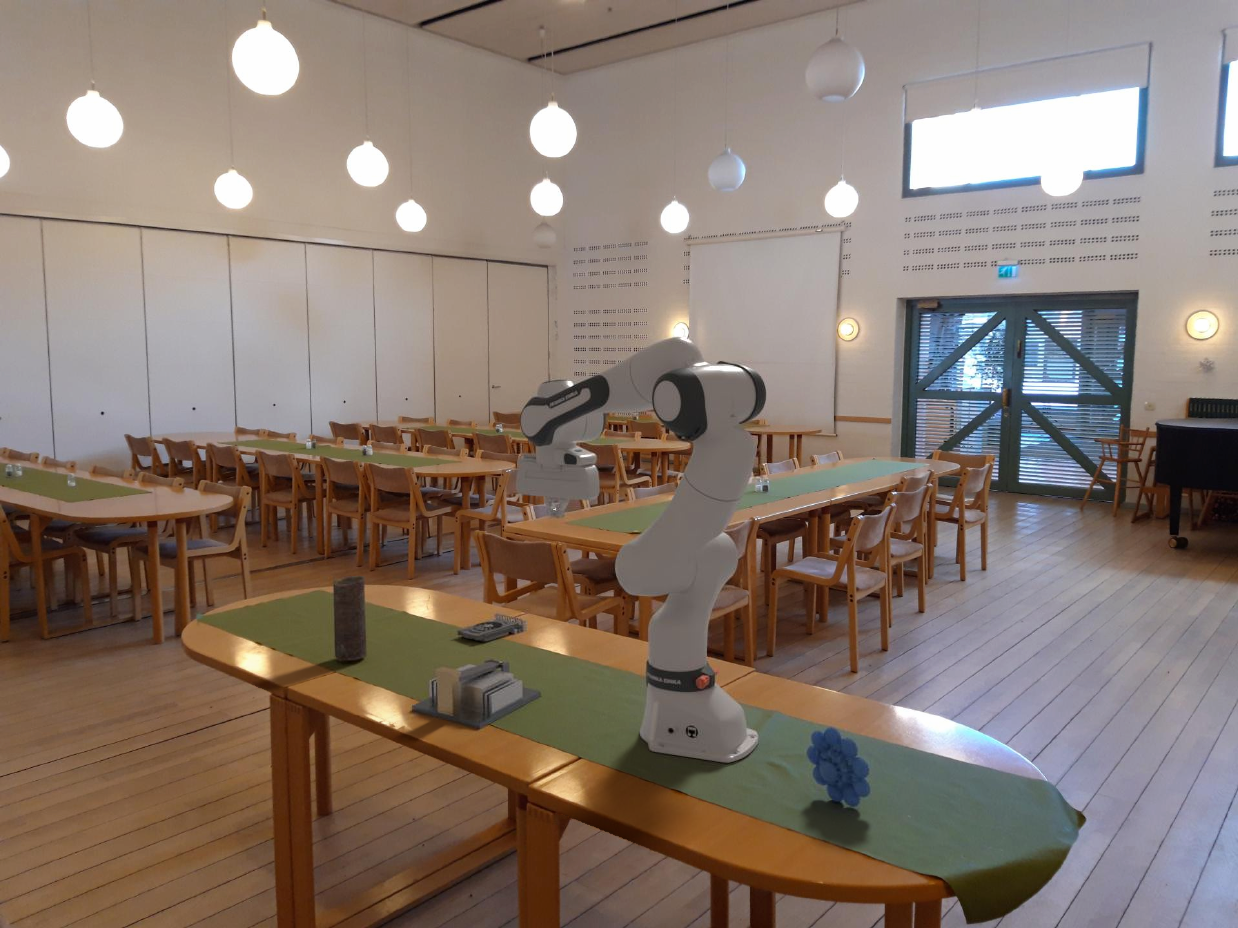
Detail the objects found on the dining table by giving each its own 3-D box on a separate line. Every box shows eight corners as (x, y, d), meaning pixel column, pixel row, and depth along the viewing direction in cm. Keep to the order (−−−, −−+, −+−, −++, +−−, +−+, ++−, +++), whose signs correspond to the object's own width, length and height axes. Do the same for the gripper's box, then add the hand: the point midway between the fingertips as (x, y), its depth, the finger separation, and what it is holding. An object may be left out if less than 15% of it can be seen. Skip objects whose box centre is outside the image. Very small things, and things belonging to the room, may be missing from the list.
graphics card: (497, 611, 242) (527, 618, 234) (497, 624, 242) (527, 632, 235) (448, 625, 229) (478, 633, 222) (448, 639, 230) (478, 648, 222)
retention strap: (492, 664, 190) (493, 659, 190) (504, 667, 189) (504, 661, 189) (446, 680, 178) (446, 674, 178) (458, 683, 176) (459, 677, 176)
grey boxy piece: (540, 695, 188) (540, 651, 187) (480, 728, 171) (479, 680, 170) (475, 680, 197) (475, 638, 196) (412, 710, 180) (410, 664, 179)
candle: (368, 662, 209) (365, 580, 207) (336, 666, 206) (333, 583, 204) (365, 653, 216) (362, 573, 214) (334, 656, 214) (330, 576, 211)
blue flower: (791, 797, 144) (792, 726, 142) (815, 783, 148) (817, 715, 147) (853, 824, 135) (855, 749, 134) (877, 809, 140) (879, 736, 138)
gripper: (509, 453, 194) (510, 515, 196) (587, 458, 184) (587, 523, 185) (526, 451, 199) (527, 511, 201) (603, 455, 189) (603, 519, 190)
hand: (556, 517), depth 193 cm, fingers closed
